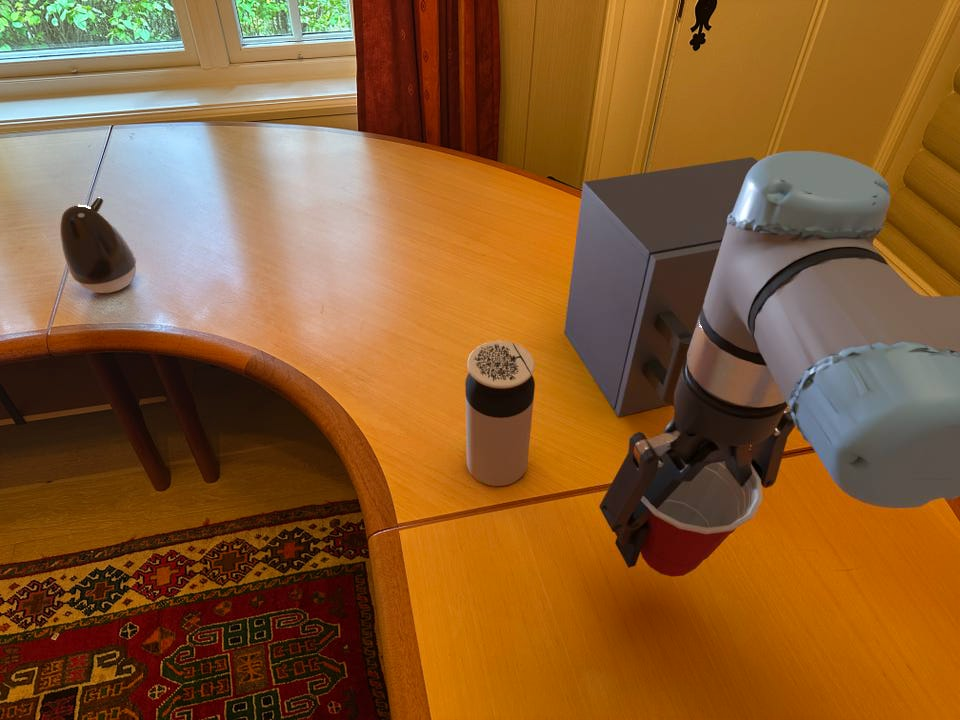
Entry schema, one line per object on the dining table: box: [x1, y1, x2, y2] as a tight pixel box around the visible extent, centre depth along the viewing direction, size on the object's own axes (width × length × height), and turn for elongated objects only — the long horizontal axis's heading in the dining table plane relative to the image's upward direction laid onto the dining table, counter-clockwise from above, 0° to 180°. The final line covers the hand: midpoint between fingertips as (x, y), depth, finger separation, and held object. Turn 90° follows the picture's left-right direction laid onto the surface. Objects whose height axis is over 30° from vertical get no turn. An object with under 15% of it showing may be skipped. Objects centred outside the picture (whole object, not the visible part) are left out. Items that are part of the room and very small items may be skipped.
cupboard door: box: [614, 242, 722, 418], centre depth 77 cm, size 7×26×26 cm, turn 107°
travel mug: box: [464, 340, 536, 487], centre depth 73 cm, size 8×8×18 cm
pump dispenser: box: [59, 197, 137, 294], centre depth 103 cm, size 10×10×15 cm
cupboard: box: [563, 156, 759, 411], centre depth 86 cm, size 18×26×26 cm
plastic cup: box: [640, 460, 764, 578], centre depth 55 cm, size 11×11×12 cm
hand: (669, 540), depth 58 cm, fingers closed on plastic cup, 9 cm apart
